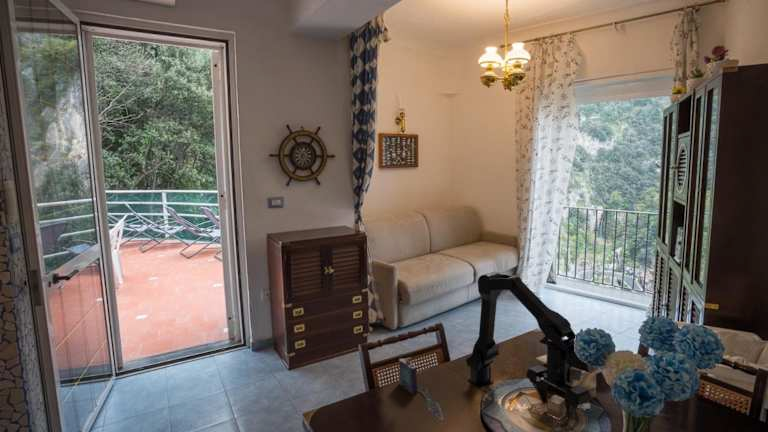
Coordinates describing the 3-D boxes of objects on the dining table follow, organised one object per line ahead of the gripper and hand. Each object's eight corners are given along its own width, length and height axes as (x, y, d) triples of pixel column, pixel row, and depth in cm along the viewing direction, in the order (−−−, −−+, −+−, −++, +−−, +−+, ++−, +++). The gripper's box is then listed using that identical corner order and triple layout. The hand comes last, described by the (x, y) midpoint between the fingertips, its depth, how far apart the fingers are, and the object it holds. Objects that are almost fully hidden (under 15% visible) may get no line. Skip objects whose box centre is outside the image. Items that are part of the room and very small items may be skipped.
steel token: (584, 412, 122) (584, 408, 122) (573, 406, 126) (573, 402, 126) (593, 408, 124) (593, 404, 124) (581, 402, 128) (581, 398, 128)
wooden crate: (571, 407, 125) (572, 376, 124) (534, 386, 138) (534, 358, 137) (597, 397, 130) (598, 367, 129) (559, 377, 143) (559, 350, 142)
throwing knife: (427, 388, 140) (427, 386, 140) (450, 421, 121) (450, 419, 121) (415, 390, 139) (415, 388, 139) (436, 423, 120) (436, 422, 120)
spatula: (558, 420, 119) (558, 404, 118) (547, 415, 121) (547, 399, 121) (586, 399, 129) (586, 384, 128) (575, 395, 131) (575, 380, 131)
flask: (398, 383, 144) (397, 354, 143) (405, 381, 145) (404, 352, 144) (413, 395, 136) (412, 364, 135) (420, 392, 137) (419, 362, 136)
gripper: (604, 366, 115) (603, 418, 116) (550, 343, 131) (550, 389, 133) (577, 376, 110) (576, 431, 111) (525, 351, 126) (525, 398, 128)
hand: (556, 410), depth 121 cm, fingers open, 9 cm apart
